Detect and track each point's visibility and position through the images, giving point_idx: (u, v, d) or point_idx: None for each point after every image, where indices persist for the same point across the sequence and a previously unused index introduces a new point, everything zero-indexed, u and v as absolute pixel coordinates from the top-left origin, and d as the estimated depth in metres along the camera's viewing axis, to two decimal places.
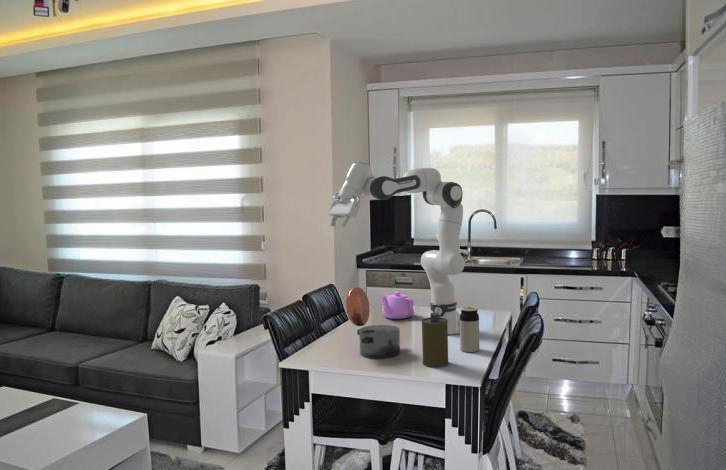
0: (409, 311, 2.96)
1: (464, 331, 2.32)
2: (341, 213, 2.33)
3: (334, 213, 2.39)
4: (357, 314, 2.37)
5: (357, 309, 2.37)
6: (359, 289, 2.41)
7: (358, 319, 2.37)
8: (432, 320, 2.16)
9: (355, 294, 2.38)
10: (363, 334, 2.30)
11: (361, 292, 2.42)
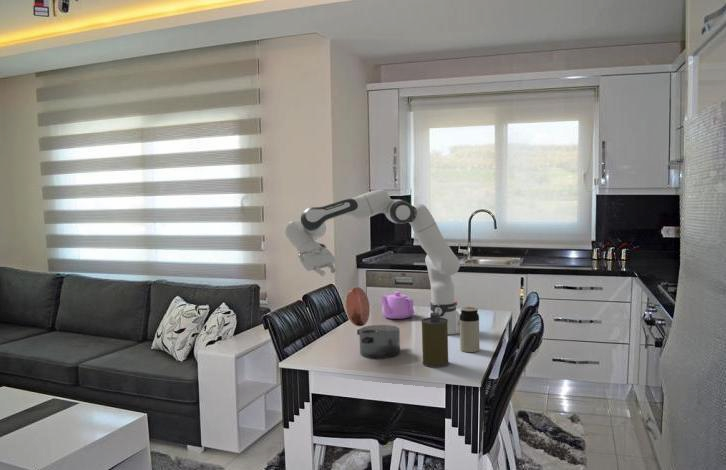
0: (409, 311, 2.96)
1: (464, 331, 2.32)
2: None
3: None
4: (357, 314, 2.37)
5: (357, 309, 2.37)
6: (359, 289, 2.41)
7: (358, 319, 2.37)
8: (432, 320, 2.16)
9: (355, 294, 2.38)
10: (363, 334, 2.30)
11: (361, 292, 2.42)
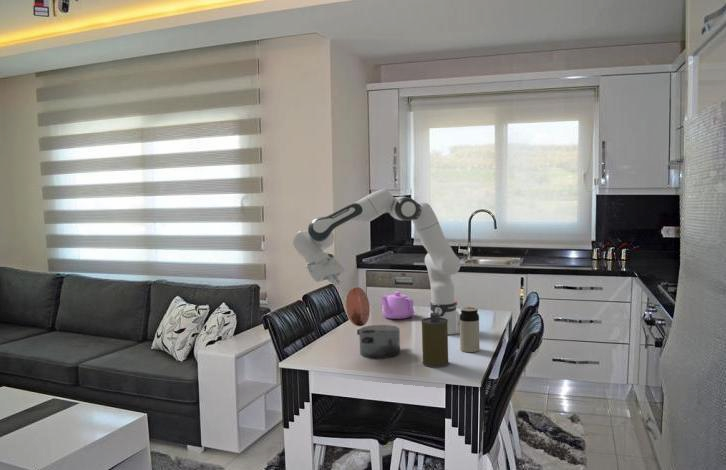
0: (409, 311, 2.96)
1: (464, 331, 2.32)
2: None
3: None
4: (357, 314, 2.37)
5: (357, 309, 2.37)
6: (359, 289, 2.41)
7: (358, 319, 2.37)
8: (432, 320, 2.16)
9: (355, 294, 2.38)
10: (363, 334, 2.30)
11: (361, 292, 2.42)
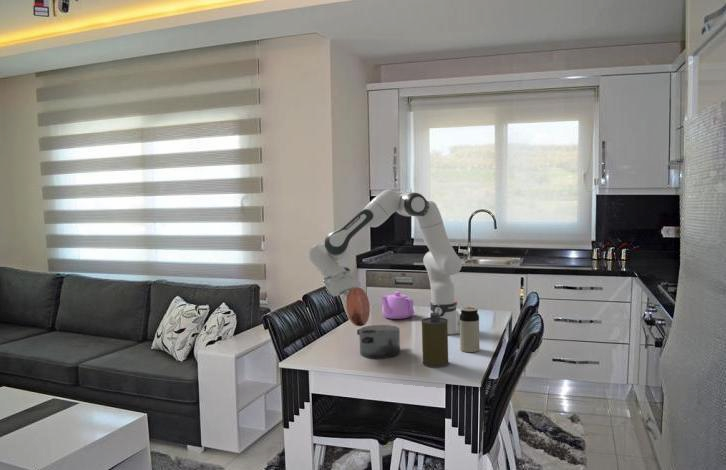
0: (409, 311, 2.96)
1: (464, 331, 2.32)
2: None
3: None
4: (357, 313, 2.36)
5: (358, 309, 2.37)
6: (359, 289, 2.41)
7: (358, 319, 2.37)
8: (432, 320, 2.16)
9: (355, 294, 2.38)
10: (363, 334, 2.30)
11: (362, 292, 2.42)
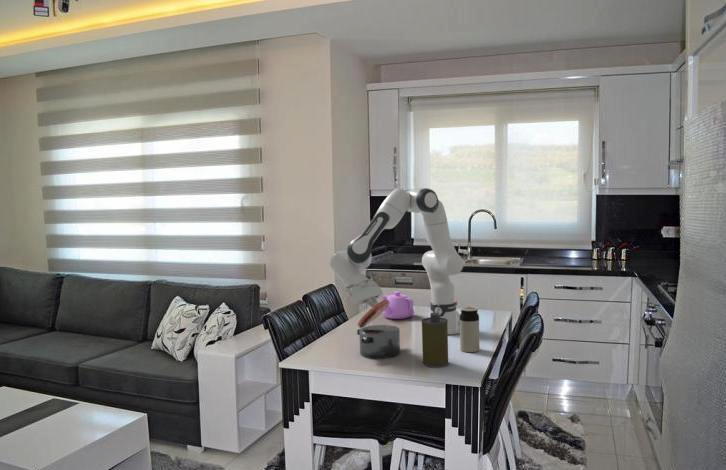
0: (409, 311, 2.96)
1: (464, 331, 2.32)
2: None
3: None
4: (367, 320, 2.34)
5: (371, 317, 2.34)
6: (387, 302, 2.35)
7: (364, 323, 2.35)
8: (432, 320, 2.16)
9: (381, 306, 2.32)
10: (363, 334, 2.30)
11: (386, 304, 2.37)
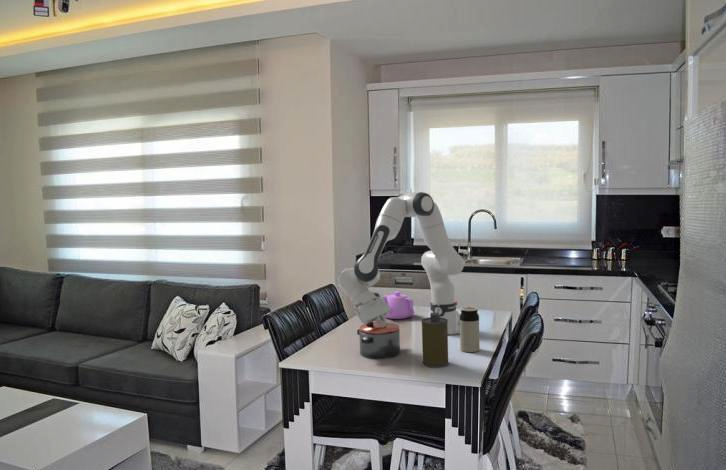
0: (409, 311, 2.96)
1: (464, 331, 2.32)
2: None
3: None
4: None
5: None
6: None
7: None
8: (432, 320, 2.16)
9: None
10: (363, 334, 2.30)
11: None
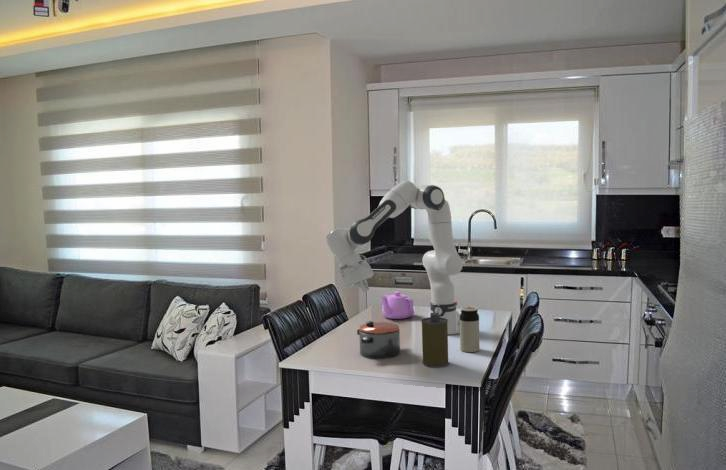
0: (409, 311, 2.96)
1: (464, 331, 2.32)
2: None
3: None
4: None
5: None
6: None
7: None
8: (432, 320, 2.16)
9: None
10: (363, 334, 2.30)
11: None
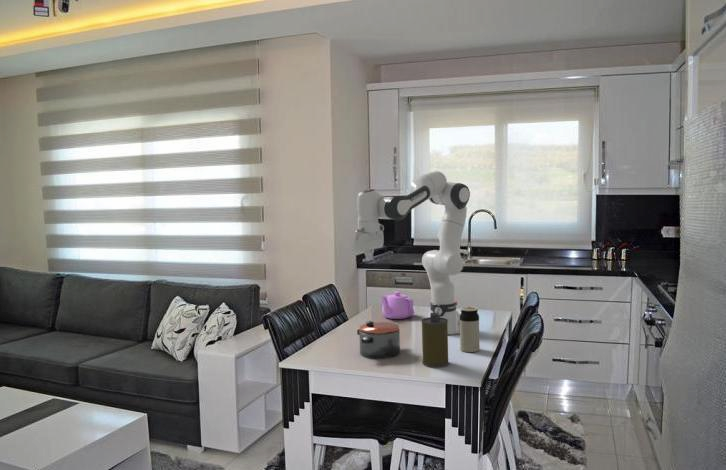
0: (409, 311, 2.96)
1: (464, 331, 2.32)
2: None
3: None
4: None
5: None
6: None
7: None
8: (432, 320, 2.16)
9: None
10: (363, 334, 2.30)
11: None
